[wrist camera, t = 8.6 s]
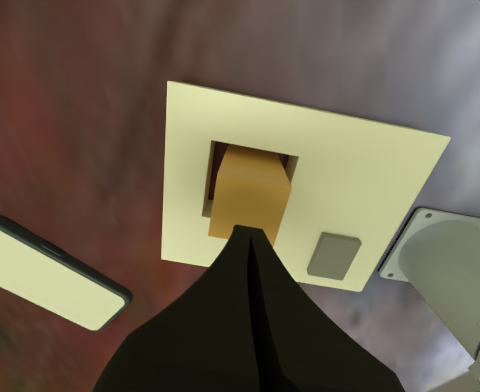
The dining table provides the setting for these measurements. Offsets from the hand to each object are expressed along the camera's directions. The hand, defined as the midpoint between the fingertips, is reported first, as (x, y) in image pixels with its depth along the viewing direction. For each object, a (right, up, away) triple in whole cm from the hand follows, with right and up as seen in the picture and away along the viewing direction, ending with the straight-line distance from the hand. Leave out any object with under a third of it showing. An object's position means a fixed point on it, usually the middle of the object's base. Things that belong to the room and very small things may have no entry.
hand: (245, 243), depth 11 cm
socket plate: (+3, +3, +9) cm, 10 cm away
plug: (0, +4, +8) cm, 10 cm away
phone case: (-21, -7, +15) cm, 27 cm away
